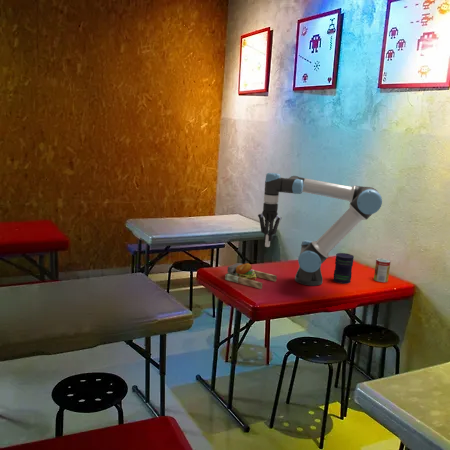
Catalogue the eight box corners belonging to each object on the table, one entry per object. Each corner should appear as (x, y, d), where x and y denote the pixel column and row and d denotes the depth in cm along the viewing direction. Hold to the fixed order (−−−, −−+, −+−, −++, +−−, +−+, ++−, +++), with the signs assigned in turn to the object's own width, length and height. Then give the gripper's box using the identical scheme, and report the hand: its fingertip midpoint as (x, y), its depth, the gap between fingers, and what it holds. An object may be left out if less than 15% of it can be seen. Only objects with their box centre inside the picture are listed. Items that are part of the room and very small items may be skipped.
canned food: (386, 278, 291) (388, 258, 288) (389, 282, 283) (392, 262, 281) (372, 277, 291) (375, 257, 289) (375, 281, 284) (377, 261, 281)
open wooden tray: (276, 280, 273) (277, 270, 272) (260, 288, 258) (261, 277, 257) (240, 271, 285) (241, 261, 284) (223, 279, 270) (224, 268, 269)
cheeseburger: (258, 282, 268) (255, 265, 266) (239, 286, 268) (236, 269, 265) (255, 276, 278) (252, 259, 276) (236, 280, 277) (233, 263, 275)
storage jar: (346, 284, 274) (349, 258, 271) (330, 280, 280) (333, 255, 277) (353, 281, 282) (356, 255, 279) (337, 276, 288) (340, 252, 285)
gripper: (285, 203, 258) (281, 247, 263) (263, 200, 265) (259, 243, 270) (279, 205, 252) (275, 250, 257) (256, 201, 259) (253, 245, 264)
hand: (267, 246), depth 263 cm, fingers closed
